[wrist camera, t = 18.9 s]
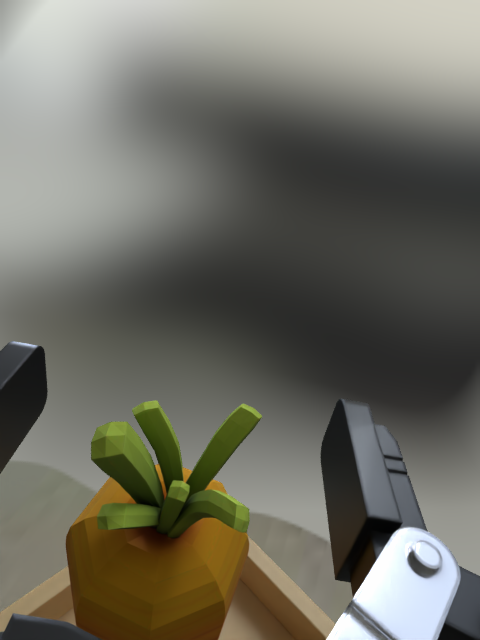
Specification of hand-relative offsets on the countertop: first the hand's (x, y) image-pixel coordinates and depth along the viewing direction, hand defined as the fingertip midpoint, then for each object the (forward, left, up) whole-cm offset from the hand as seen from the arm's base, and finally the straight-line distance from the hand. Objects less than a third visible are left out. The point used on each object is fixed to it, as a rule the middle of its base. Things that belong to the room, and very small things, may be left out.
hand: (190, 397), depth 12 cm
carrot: (-2, -1, -14) cm, 14 cm away
